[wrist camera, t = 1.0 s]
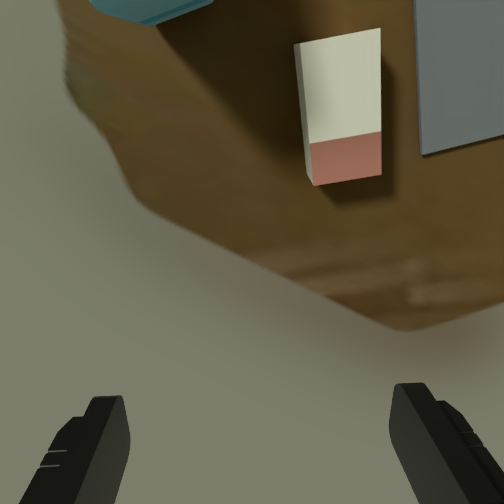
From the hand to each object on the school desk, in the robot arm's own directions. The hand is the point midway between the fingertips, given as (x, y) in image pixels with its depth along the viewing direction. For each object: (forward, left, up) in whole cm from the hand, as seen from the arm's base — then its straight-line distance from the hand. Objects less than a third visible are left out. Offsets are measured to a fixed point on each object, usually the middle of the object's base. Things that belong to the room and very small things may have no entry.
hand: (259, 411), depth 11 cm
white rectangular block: (-4, +8, -22) cm, 23 cm away
